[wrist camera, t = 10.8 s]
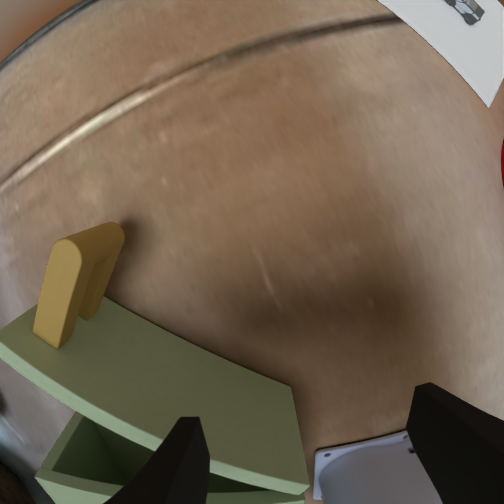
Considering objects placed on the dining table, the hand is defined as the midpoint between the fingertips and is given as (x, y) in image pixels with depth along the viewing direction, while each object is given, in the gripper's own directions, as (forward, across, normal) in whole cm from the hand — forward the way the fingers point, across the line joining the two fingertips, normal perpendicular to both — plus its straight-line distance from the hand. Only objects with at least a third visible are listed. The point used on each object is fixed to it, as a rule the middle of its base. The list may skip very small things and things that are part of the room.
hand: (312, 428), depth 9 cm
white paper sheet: (+11, -16, -21) cm, 28 cm away
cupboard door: (+10, +5, 0) cm, 11 cm away
